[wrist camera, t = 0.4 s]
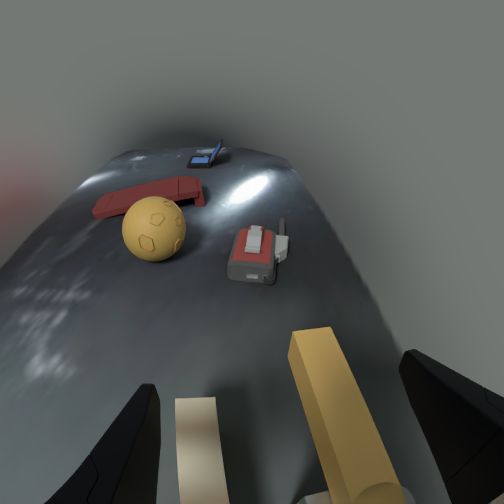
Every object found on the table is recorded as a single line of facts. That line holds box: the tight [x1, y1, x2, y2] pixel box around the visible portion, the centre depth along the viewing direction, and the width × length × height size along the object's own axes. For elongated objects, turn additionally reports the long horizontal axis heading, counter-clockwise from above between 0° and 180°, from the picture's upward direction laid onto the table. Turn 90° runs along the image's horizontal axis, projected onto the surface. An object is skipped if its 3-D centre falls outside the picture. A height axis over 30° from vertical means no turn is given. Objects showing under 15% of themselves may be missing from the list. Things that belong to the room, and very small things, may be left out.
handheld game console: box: [187, 139, 223, 168], centre depth 92 cm, size 12×11×7 cm
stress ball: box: [122, 196, 186, 262], centre depth 44 cm, size 10×10×10 cm
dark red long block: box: [92, 176, 205, 219], centre depth 65 cm, size 12×5×25 cm
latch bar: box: [288, 327, 416, 504], centre depth 16 cm, size 16×4×3 cm, turn 9°
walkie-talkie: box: [227, 219, 288, 285], centre depth 49 cm, size 9×4×20 cm
